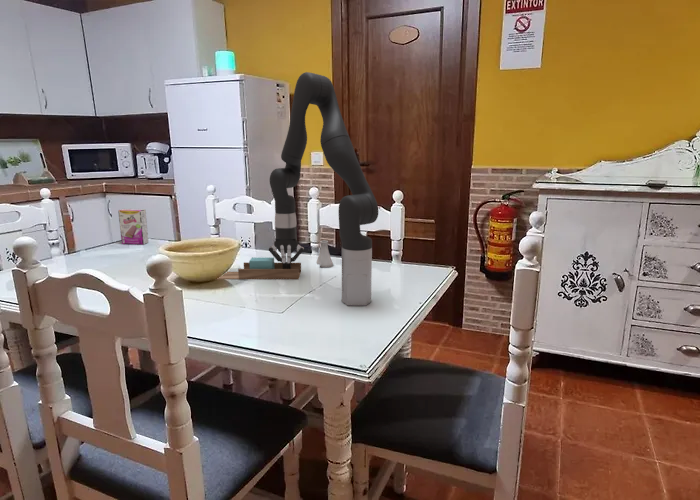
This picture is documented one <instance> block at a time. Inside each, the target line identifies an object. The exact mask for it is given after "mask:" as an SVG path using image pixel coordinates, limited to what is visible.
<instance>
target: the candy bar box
mask: <svg viewBox="0 0 700 500" xmlns="http://www.w3.org/2000/svg"><path fill="white" fill-rule="evenodd" d="M118 221H119V229H120V230H119V231H120V240H121V245H141V246H144V245H147V244H149V236H148V235H149V233H148V223H147V222H148V221H147V212H146V209H143V208H142V209H141V208H138V209H137V208H122V209H118Z"/></svg>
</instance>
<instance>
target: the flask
mask: <svg viewBox="0 0 700 500" xmlns="http://www.w3.org/2000/svg"><path fill="white" fill-rule="evenodd" d="M319 242H320V250H319V253H318V256H317V260H316V262H315V263H316V264H317V265H319V268H332V267H333V266H334V263H333V259H332V257H331V254H330V251H329V247H328V245H329V241H328V240H325V239H324V240H320V241H319Z"/></svg>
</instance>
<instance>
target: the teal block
mask: <svg viewBox="0 0 700 500" xmlns="http://www.w3.org/2000/svg"><path fill="white" fill-rule="evenodd" d="M248 261H249V262H248V263H249V265H250V269H274V263H275V257H251V258H250V260H248Z"/></svg>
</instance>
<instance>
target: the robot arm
mask: <svg viewBox="0 0 700 500" xmlns="http://www.w3.org/2000/svg"><path fill="white" fill-rule="evenodd" d="M335 90H336V89H335V87H334V85H333V82H332V80H331V79H330V78H329V77H327V76H326V75H322V74H318V73H314V72H307V71H306V72H302V73H301V74H300V75H299V76H298V78H297V80H296V83H295V88H294V92H293V99H292V104H291V105H292V106H291V112H290V119H289V126H288V129H287V134H286V136H285V141H284V144H283V147H282V151H281V154H280V158H281V160H282V162H284V163H285V166H284V167H282V168H281V167H280V168H274V169H273V170H271V173H270V175H269V185H270V190H271V193H272V197H273V200H274V211H275V212H274V235H275V238H274V242H273V245H271V246H269V248H268V252H269V253H270V254H271V255H272V256H273V258H274V260H276V261H277V262H279V263H282V266H283V269H291V263H295V262H296V261H297V259H298V258H299V256H301V254H302V253H303V251H304V249H305V247H304V246H301V245H300V244H299V242H298V240H297V238H298V237H297V236H298V235H297V234H298V233H297V232H298V231H297V215H296V199H295V197H294V196H293V195H289V193H288V189H291V188H294V187H296V186H297V185H298V183H299V182H300V178H301V171H302V170H301V169H302V160H303V157H304V154H305V150H306V147H307V144H308V134H307V127H306V114H307V110H308V108H309V105H315V106H317V107H318V111H319V112H320V114H321V115H320V116H321V118H322V129H321V133H320V146H321V149H322V152H323V155H324V158H325V161H326V163H327V164H328V166H329V167H330V168H331V169H332V170H333V172H335V173H336V174H337V175H338V176H339V177H340V178H341V179H342V181H344V183H345V184H346V185H347V186H348V188H349V190H350V193H351V194H350V195H346V196H342V198H341V199H340V200H339V205H338V226H339V228H338V229H339V238H340V241H341V302H342V303H343V304H345V305H346V306H368V304H370V303H371V302H372V273H373V272H372V271H373V270H372V269H373V266H372V265H373V263H372V262H373V258H372V257H373V239H372V238H371V236H368V235H363V234H362V231H361V226H363V225H369V224H370V225H371V224H373V223H375V222H376V221H377V220H378V217H379V206H378V202H377V199H376V197H375V195H374V193H373V191H372V189H371V187H370V184H369V182H368V180H367V178H366V176H365V174H364V172H363V169H362V167H361V164H360V163H359V160H358V158H357V155H356V151H355V148H354V146H353V143H352V141H351V138H350V135H349V132H348V130H347V128H346V125H345V121H344V119H343V116H342V113H341V109H340V107H339V106H340V105H339V103H338V97H337V94H336V91H335ZM295 250H296V253H295V254H294V256H293V257H292V254H293V253H294V251H295ZM278 252H279V253H281V254H279V253H278Z"/></svg>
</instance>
